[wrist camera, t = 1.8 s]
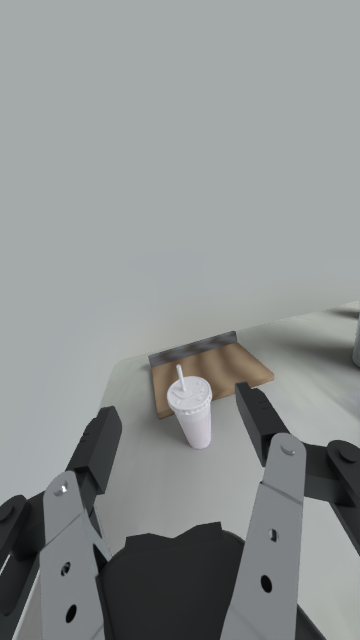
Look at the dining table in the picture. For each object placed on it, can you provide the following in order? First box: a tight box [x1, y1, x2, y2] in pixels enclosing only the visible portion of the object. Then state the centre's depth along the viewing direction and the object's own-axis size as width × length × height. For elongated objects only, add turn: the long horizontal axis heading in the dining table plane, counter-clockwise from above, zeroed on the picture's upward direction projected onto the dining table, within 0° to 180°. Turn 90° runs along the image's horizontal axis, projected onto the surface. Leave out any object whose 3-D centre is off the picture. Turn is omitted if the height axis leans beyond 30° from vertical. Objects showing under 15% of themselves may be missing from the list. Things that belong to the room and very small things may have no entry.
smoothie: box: [167, 365, 212, 449], centre depth 27 cm, size 6×6×14 cm
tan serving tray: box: [148, 331, 274, 419], centre depth 42 cm, size 24×16×4 cm
